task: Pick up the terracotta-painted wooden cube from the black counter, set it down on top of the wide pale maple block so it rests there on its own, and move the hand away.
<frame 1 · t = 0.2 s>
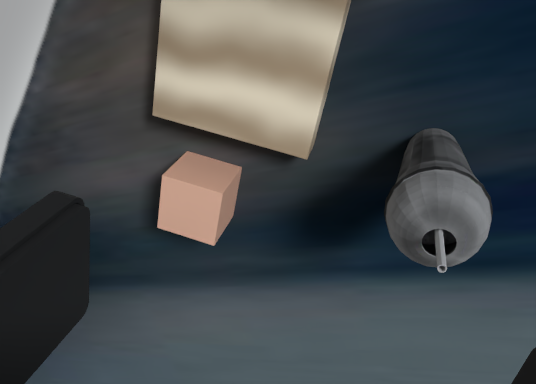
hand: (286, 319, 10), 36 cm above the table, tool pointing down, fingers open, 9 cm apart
terracotta cube: (210, 184, 53), on the table
maple block: (254, 46, 46), on the table
beverage cup: (432, 151, 46), on the table
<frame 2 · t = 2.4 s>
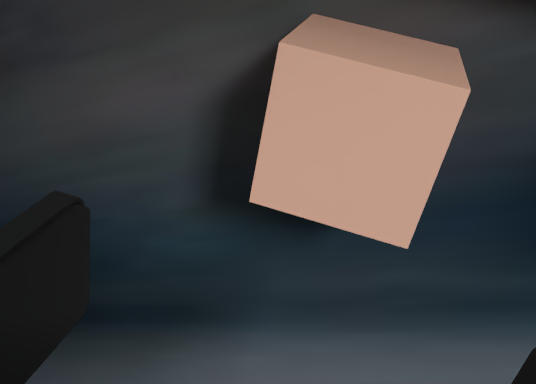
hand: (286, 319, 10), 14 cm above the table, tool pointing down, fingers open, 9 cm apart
terracotta cube: (364, 99, 22), on the table
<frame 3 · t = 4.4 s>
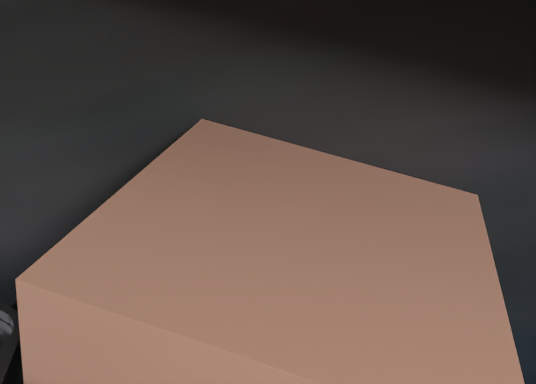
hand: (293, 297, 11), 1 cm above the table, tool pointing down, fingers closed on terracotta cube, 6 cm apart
terracotta cube: (303, 266, 12), on the table, touching gripper
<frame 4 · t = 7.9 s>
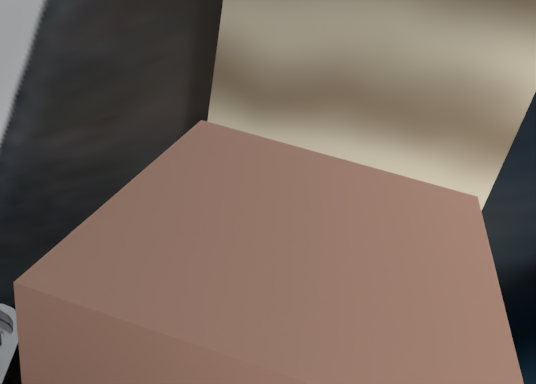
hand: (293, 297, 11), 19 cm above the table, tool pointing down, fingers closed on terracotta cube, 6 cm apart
terracotta cube: (303, 268, 12), point 18 cm above the table, touching gripper
maple block: (364, 80, 28), on the table
when the fingers open (5 cm above the table, at t = 11.7 s): terracotta cube stays where it is, resting on maple block.
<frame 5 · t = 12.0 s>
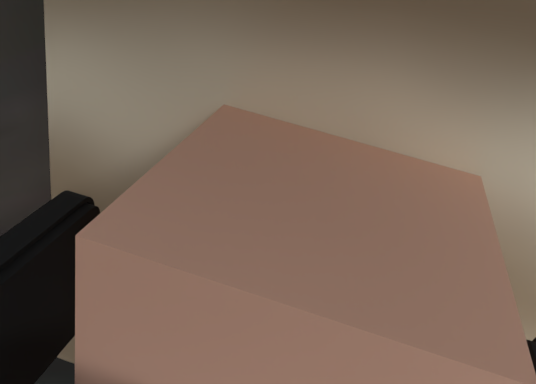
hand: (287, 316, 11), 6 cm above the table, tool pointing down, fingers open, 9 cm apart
terracotta cube: (316, 245, 13), point 3 cm above the table, touching maple block
maple block: (332, 180, 16), on the table, touching terracotta cube
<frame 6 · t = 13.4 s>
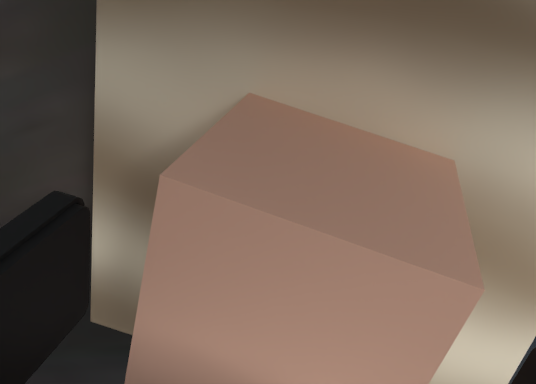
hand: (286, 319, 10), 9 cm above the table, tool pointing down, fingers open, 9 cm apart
terracotta cube: (318, 214, 16), point 3 cm above the table
maple block: (331, 164, 19), on the table
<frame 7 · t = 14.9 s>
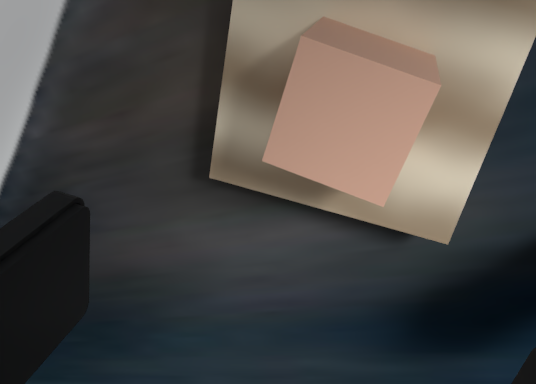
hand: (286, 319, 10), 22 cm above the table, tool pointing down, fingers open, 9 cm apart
terracotta cube: (357, 90, 27), point 3 cm above the table
maple block: (362, 75, 31), on the table
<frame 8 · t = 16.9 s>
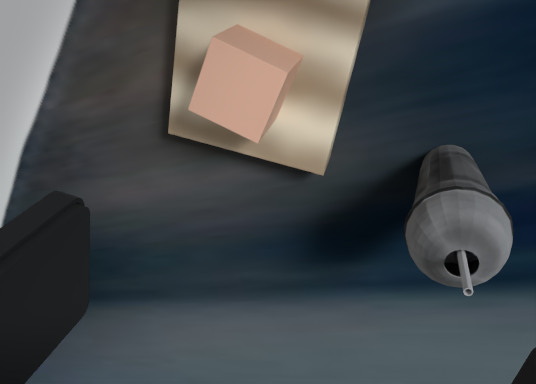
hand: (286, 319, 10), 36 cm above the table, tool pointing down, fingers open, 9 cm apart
terracotta cube: (257, 73, 42), point 3 cm above the table, touching maple block
maple block: (268, 63, 46), on the table, touching terracotta cube
beverage cup: (447, 167, 46), on the table
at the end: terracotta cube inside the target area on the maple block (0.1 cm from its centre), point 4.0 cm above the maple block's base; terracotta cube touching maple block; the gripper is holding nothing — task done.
